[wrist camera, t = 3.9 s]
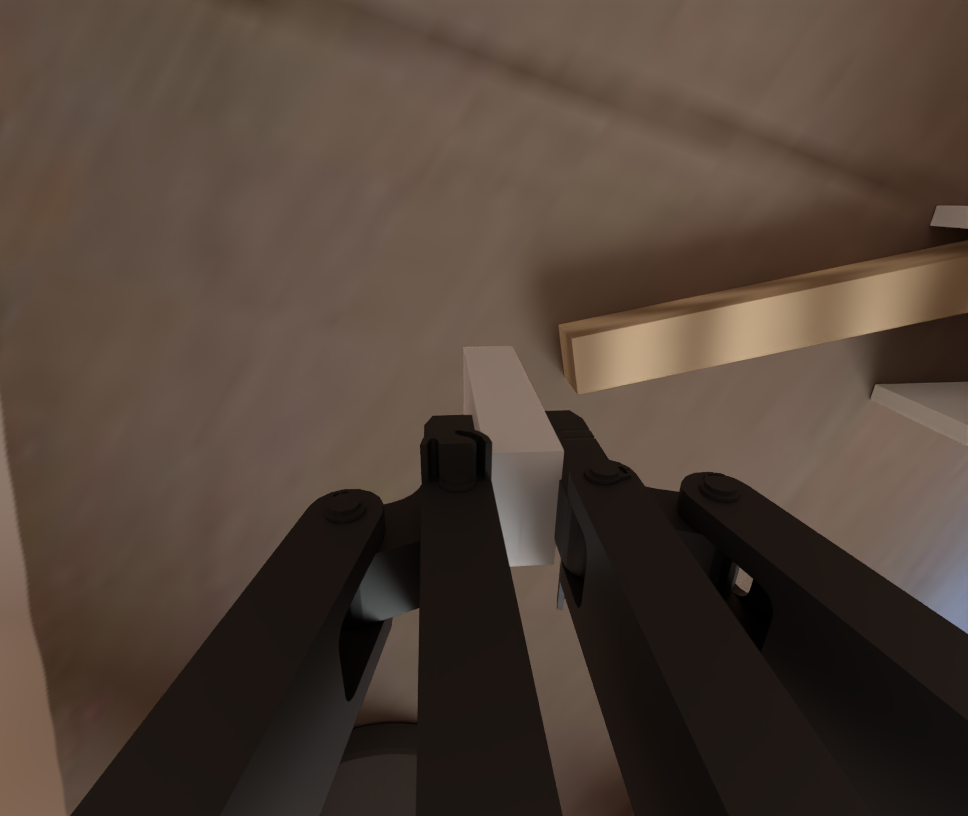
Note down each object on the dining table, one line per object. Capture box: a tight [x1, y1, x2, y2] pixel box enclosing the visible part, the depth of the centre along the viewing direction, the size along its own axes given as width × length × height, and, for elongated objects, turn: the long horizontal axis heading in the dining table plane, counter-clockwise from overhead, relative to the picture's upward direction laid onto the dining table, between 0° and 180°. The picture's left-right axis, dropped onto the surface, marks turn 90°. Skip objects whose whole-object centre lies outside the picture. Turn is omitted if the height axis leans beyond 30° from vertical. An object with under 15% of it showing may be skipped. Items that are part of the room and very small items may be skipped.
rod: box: [558, 240, 968, 395], centre depth 27 cm, size 25×3×3 cm, turn 100°
